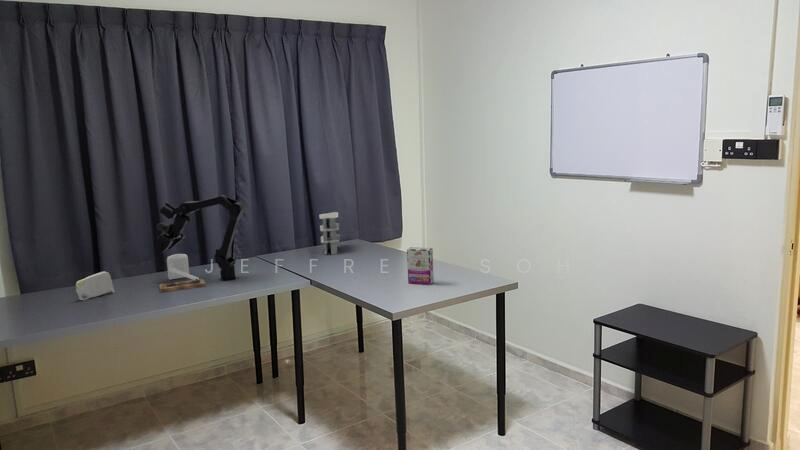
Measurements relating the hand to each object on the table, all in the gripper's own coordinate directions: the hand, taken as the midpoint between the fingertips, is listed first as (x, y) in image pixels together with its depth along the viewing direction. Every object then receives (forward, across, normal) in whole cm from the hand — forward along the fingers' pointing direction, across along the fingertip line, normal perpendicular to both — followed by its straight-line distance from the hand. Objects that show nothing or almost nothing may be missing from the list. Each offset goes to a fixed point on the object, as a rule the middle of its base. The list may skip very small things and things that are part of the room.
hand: (164, 250), depth 291 cm
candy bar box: (-56, +14, +116) cm, 130 cm away
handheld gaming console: (+24, +28, -9) cm, 38 cm away
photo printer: (+10, -4, +12) cm, 16 cm away
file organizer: (-26, -61, +69) cm, 95 cm away
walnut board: (+5, +14, +20) cm, 25 cm away
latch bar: (0, +13, +18) cm, 22 cm away
